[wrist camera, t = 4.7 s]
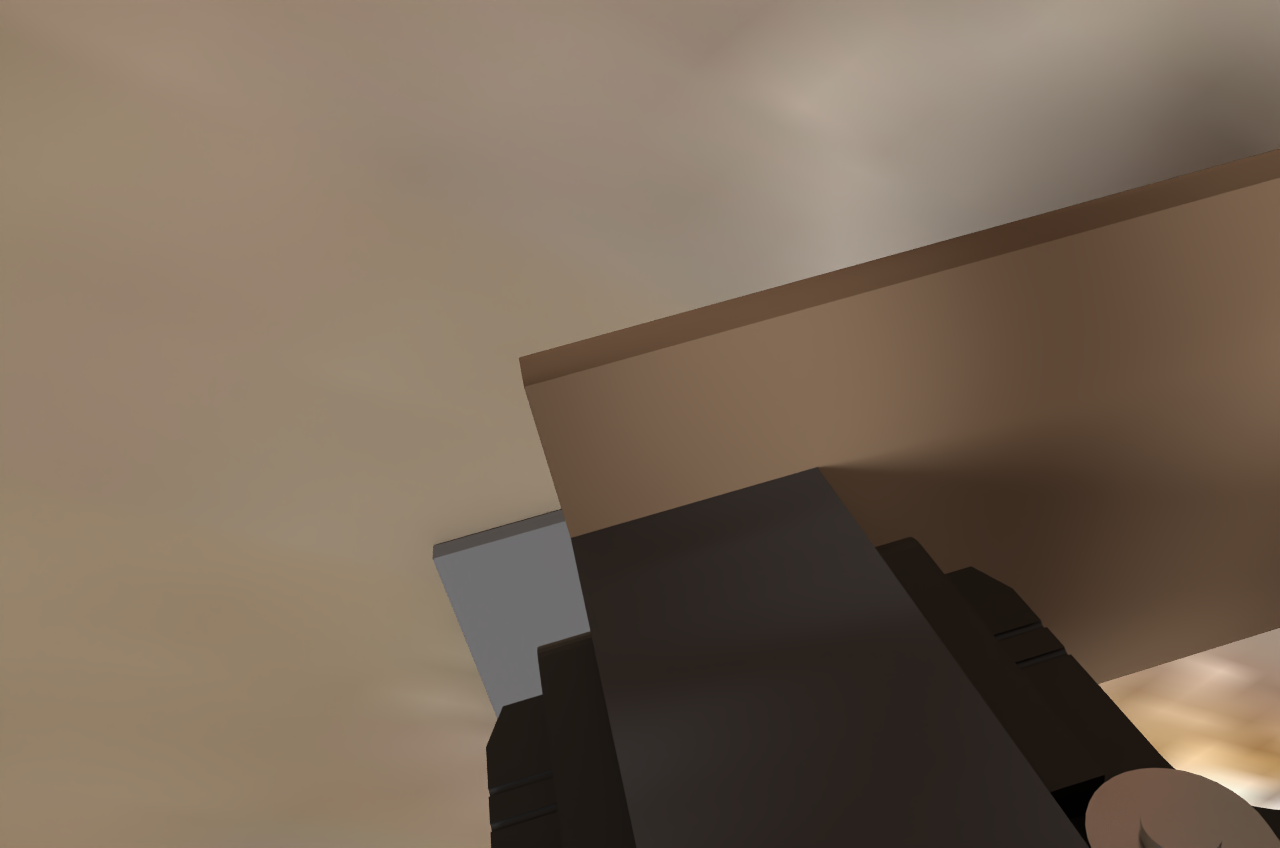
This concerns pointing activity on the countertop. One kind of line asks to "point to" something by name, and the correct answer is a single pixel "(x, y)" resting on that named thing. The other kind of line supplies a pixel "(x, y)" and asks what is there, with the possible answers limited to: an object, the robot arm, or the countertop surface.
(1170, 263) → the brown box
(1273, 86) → the countertop surface
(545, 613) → the mat
